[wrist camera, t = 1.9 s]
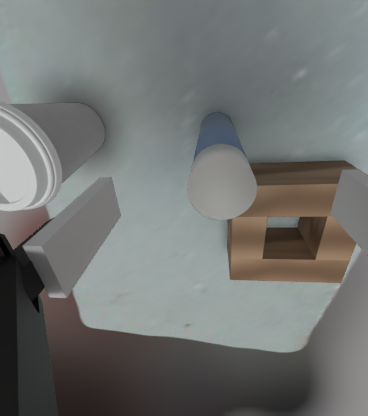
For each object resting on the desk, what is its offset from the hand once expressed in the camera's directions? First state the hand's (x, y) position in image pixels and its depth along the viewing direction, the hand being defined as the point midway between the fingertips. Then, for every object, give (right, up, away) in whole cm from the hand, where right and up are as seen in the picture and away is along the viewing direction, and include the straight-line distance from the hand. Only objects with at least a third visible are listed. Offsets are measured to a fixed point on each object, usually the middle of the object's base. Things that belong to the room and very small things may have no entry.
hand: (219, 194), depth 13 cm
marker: (+2, +9, +15) cm, 18 cm away
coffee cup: (-16, +10, +17) cm, 25 cm away
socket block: (+12, -1, +20) cm, 23 cm away
